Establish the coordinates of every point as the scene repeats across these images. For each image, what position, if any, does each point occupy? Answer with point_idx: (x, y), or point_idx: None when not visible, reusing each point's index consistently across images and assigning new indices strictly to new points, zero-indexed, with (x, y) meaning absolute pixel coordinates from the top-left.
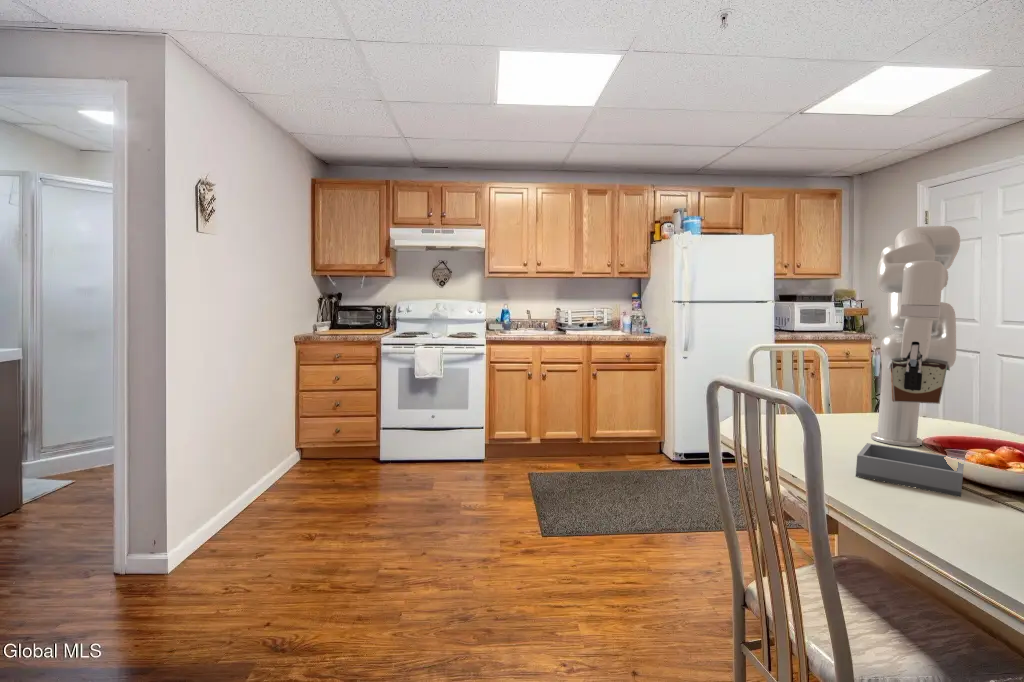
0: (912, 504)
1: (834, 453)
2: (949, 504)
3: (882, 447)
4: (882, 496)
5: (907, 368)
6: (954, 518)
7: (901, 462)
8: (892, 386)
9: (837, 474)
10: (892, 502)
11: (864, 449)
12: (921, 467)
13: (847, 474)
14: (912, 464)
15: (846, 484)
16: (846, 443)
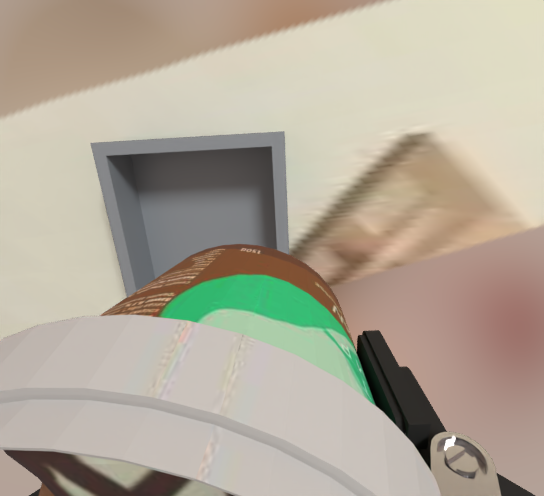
0: (32, 263)
1: (327, 31)
2: (94, 308)
3: (273, 177)
4: (27, 215)
5: (42, 492)
6: (23, 317)
7: (120, 244)
8: (154, 281)
9: (100, 102)
10: (8, 235)
11: (183, 144)
12: (125, 282)
13: (123, 122)
14: (123, 266)
15: (37, 140)
16: (512, 24)
